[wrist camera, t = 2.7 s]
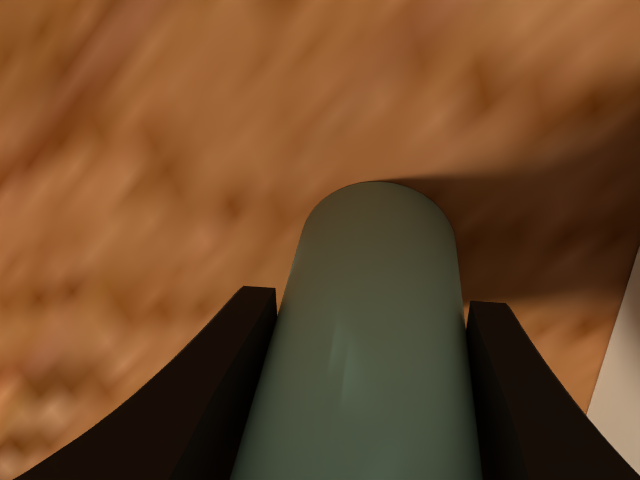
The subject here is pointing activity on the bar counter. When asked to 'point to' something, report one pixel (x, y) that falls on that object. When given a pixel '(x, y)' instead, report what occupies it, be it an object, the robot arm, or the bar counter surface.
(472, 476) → the peg
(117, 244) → the bar counter surface
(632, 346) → the socket block
